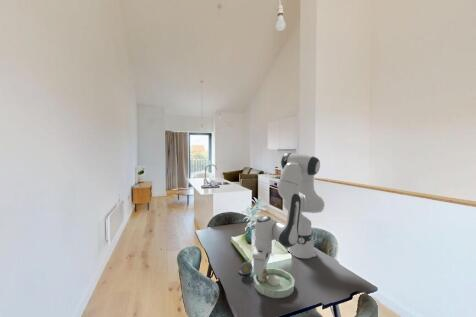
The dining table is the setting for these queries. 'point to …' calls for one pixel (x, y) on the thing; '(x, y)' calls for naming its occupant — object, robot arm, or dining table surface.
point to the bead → (264, 277)
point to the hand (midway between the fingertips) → (262, 274)
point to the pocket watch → (245, 268)
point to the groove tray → (276, 290)
